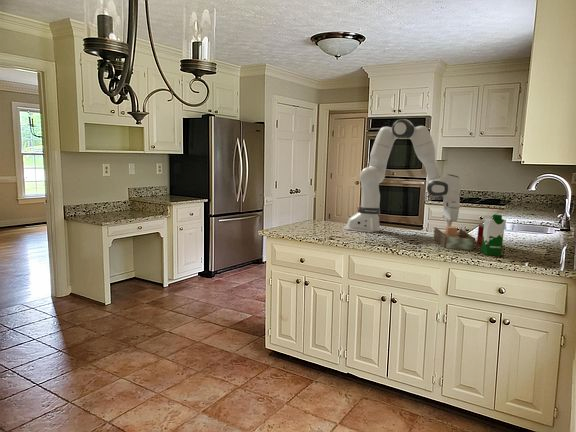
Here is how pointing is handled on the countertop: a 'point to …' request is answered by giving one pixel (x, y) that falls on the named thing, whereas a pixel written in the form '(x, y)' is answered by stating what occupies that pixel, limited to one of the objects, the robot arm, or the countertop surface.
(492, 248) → the milk carton
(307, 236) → the countertop surface
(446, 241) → the trap box
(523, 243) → the countertop surface
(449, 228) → the block
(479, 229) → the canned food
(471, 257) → the countertop surface
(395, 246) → the countertop surface
